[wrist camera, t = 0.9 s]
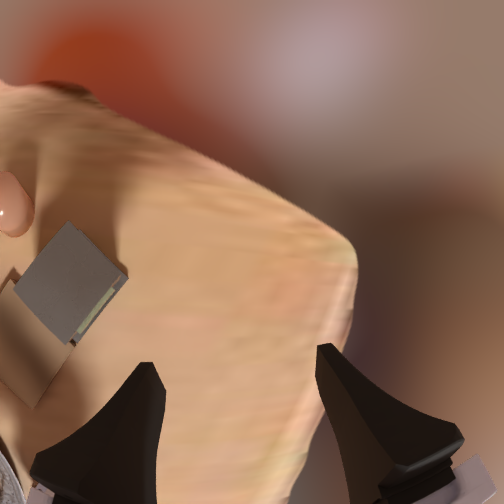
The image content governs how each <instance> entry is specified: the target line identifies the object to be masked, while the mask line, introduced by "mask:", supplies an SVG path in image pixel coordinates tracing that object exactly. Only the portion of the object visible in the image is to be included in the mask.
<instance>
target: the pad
mask: <svg viewBox="0 0 504 504" xmlns="http://www.w3.org/2000/svg"><path fill="white" fill-rule="evenodd" d="M16 284H17V283H16V281H15V280H14V279H10V280H9V281H8V283H7V284H6V286H5V287H4V289H3V290H2V292H1V293H0V379H1V380H2V382H3V383H4V384H5V385H6V386H7V387H8V388H9V389H10V390H11V391H12V392H13V393H15V394H16V395H17V396H18V397H19V398H20V399H21V400H22V401H23V402H24V403H25V404H26V405H28V406H29V407H30V408H31V409H32V410H33V409H34V408H35V406H36V405H37V403H38V401H39V400H40V398H41V396H42V395H43V393H44V392H45V390H46V389H47V387H48V386H49V384H50V383H51V381H52V379H53V378H54V376H55V375H56V374H57V372H58V371H59V369H60V368H61V366H62V365H63V363H64V362H65V360H66V359H67V358H68V356H69V355H70V353H71V352H72V351H73V349H74V348H75V346H76V345H75V344H74V343H73V342H72V341H71V340H70V341H69V342H68V343H67V344H66V345H64V344H63V343H62V342H61V341H60V340H59V339H58V338H57V337H56V336H55V335H54V334H53V333H52V332H51V331H50V330H49V329H48V328H47V327H46V326H45V325H44V324H43V323H42V322H41V321H40V320H39V319H38V318H37V317H36V316H35V315H34V313H33V312H32V311H31V310H30V309H29V308H28V307H27V306H26V305H25V303H24V302H23V301H22V300H21V299H20V298H19V296H18V295H17V294H16V293H15V292H14V290H13V288H14V286H15V285H16Z"/></svg>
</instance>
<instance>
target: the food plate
mask: <svg viewBox="0 0 504 504" xmlns="http://www.w3.org/2000/svg"><path fill="white" fill-rule="evenodd" d="M14 474H15V473H14V472H13V470H12V468H11V466H10V465H9V463H8V462H7V460H6V458H5V457H4V456H3V454H2V453H1V451H0V504H26V503H27V502H26V499H25V497H24V496H23V495H24V494H23V492H22V489H21V486H20V484H19V481H18V480H17V478H16V475H14Z"/></svg>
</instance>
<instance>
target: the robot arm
mask: <svg viewBox="0 0 504 504" xmlns="http://www.w3.org/2000/svg"><path fill="white" fill-rule="evenodd" d="M315 378H316V382H317V386H318V390H319V394H320V397H321V400H322V402H323V405H324V407H325V410H326V412H327V415H328V417H329V420H330V423H331V425H332V427H333V430H334V433H335V435H336V439H337V442H338V445H339V450H340V454H341V458H342V462H343V466H344V471H345V476H346V481H347V486H348V491H349V498H350V504H483V503H484V502H485V501H487V500H488V499H489V498H490V497H491V496H493V495H494V494H495V493H496V492H497V488H496V487H495V484H494V482H493V480H492V478H491V476H490V475H489V473H488V471H487V469H486V467H485V465H484V463H483V461H482V460H481V458H480V456H479V454H475V455H474V456H472V457H471V458H470V459H468V460H467V461H465V462H464V463H462V464H460V465H459V466H458V467H456V468H455V469H453V470H452V469H451V467H450V466H451V465H452V463H453V462H452V460H451V458H450V457H451V456H452V455H453V454H454V453H455V452H456V451H457V450H458V449H459V448H460V447H461V446H462V445H463V443H464V440H465V439H464V437H463V436H462V434H461V432H460V430H459V429H458V427H457V426H456V425H455V424H454V423H451V422H448V421H444V420H441V419H438V418H434V417H432V416H429V415H427V414H424V413H422V412H419V411H417V410H415V409H413V408H411V407H409V406H407V405H405V404H403V403H402V402H400V401H398V400H397V399H395V398H393V397H392V396H390V395H389V394H387V393H386V392H384V391H383V390H382V389H380V388H379V387H377V386H376V385H375V384H374V383H373V382H371V381H370V380H369V379H367V377H365V376H364V375H363V374H362V373H361V372H360V371H359V370H358V369H356V368H355V367H354V366H353V365H352V364H351V363H350V362H349V361H348V360H347V359H346V358H345V357H344V356H343V355H342V354H341V353H340V352H339V351H338V349H337V348H336V347H335V346H334V345H333V344H332V343H327V344H322V345H317V356H316V371H315ZM165 402H166V390H165V388H164V385H163V383H162V381H161V379H160V377H159V375H158V373H157V371H156V369H155V366H154V364H153V362H140V363H139V365H138V366H137V367H136V368H135V370H134V371H133V372H132V373H131V375H130V376H129V377H128V378H127V380H126V381H125V382H124V383H123V385H122V386H121V387H120V388H119V390H118V391H117V392H116V393H115V395H114V396H113V397H112V398H111V399H110V400H109V401H108V402H107V404H106V405H105V406H104V407H103V408H102V409H101V410H100V411H99V412H98V413H97V414H96V415H95V416H94V417H93V418H92V419H91V420H89V421H88V422H87V423H86V424H85V425H84V426H82V427H81V428H80V429H78V430H77V431H76V432H74V433H73V434H72V435H70V436H69V437H67V438H66V439H64V440H63V441H61V442H59V443H57V444H56V445H54V446H52V447H50V448H48V449H46V450H43V451H41V452H39V453H37V454H36V457H35V459H34V462H33V465H32V467H31V470H30V475H31V477H32V478H33V479H34V480H36V481H37V482H38V484H37V486H36V487H35V488H34V487H31V489H30V492H29V496H28V499H27V503H26V504H157V497H156V457H157V449H158V443H159V438H160V433H161V428H162V423H163V418H164V412H165ZM40 489H41V490H40Z"/></svg>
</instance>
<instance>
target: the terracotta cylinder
mask: <svg viewBox="0 0 504 504" xmlns="http://www.w3.org/2000/svg"><path fill="white" fill-rule="evenodd" d="M34 214H35V210H34V205H33V202H32V200H31V199H30V197H29V196H28V195H27V193H26V192H25V190H24V189H23V188H22V186H21V185H20V183H19V182H18V180H17V179H16V177H15V176H14V175H13V174H12V173H10V172H7V171H2V172H0V231H2V232H3V233H5V234H6V235H8V236H10V237H19V236H21V235H23V234H24V233H26V232H27V231H28V229H29V228H30V226H31V225H32V222H33V219H34Z"/></svg>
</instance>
